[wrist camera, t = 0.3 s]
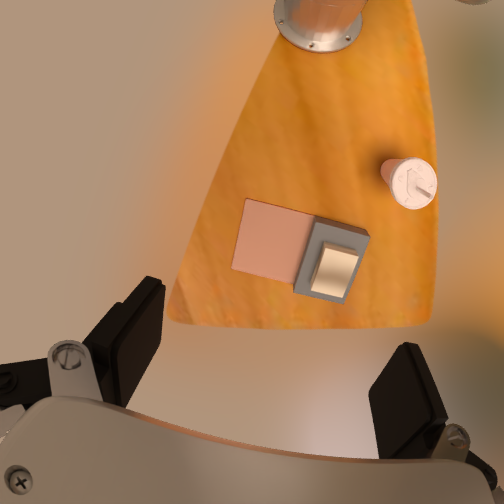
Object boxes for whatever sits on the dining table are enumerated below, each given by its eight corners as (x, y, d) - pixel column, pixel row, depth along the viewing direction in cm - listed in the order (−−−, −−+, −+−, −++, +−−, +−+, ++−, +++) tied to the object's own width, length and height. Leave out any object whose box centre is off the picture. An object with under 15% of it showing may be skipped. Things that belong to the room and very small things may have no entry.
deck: (314, 215, 45) (315, 221, 43) (366, 230, 45) (370, 237, 42) (293, 283, 50) (293, 292, 48) (341, 294, 50) (343, 304, 47)
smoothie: (382, 198, 43) (415, 230, 30) (364, 161, 41) (394, 179, 28) (416, 180, 41) (460, 205, 28) (400, 142, 39) (442, 153, 26)
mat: (246, 198, 45) (246, 198, 45) (314, 215, 45) (314, 216, 45) (231, 267, 51) (231, 268, 50) (293, 283, 50) (293, 284, 50)
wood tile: (324, 241, 44) (325, 247, 41) (355, 249, 43) (358, 256, 41) (310, 282, 46) (310, 290, 44) (340, 289, 46) (342, 297, 44)
